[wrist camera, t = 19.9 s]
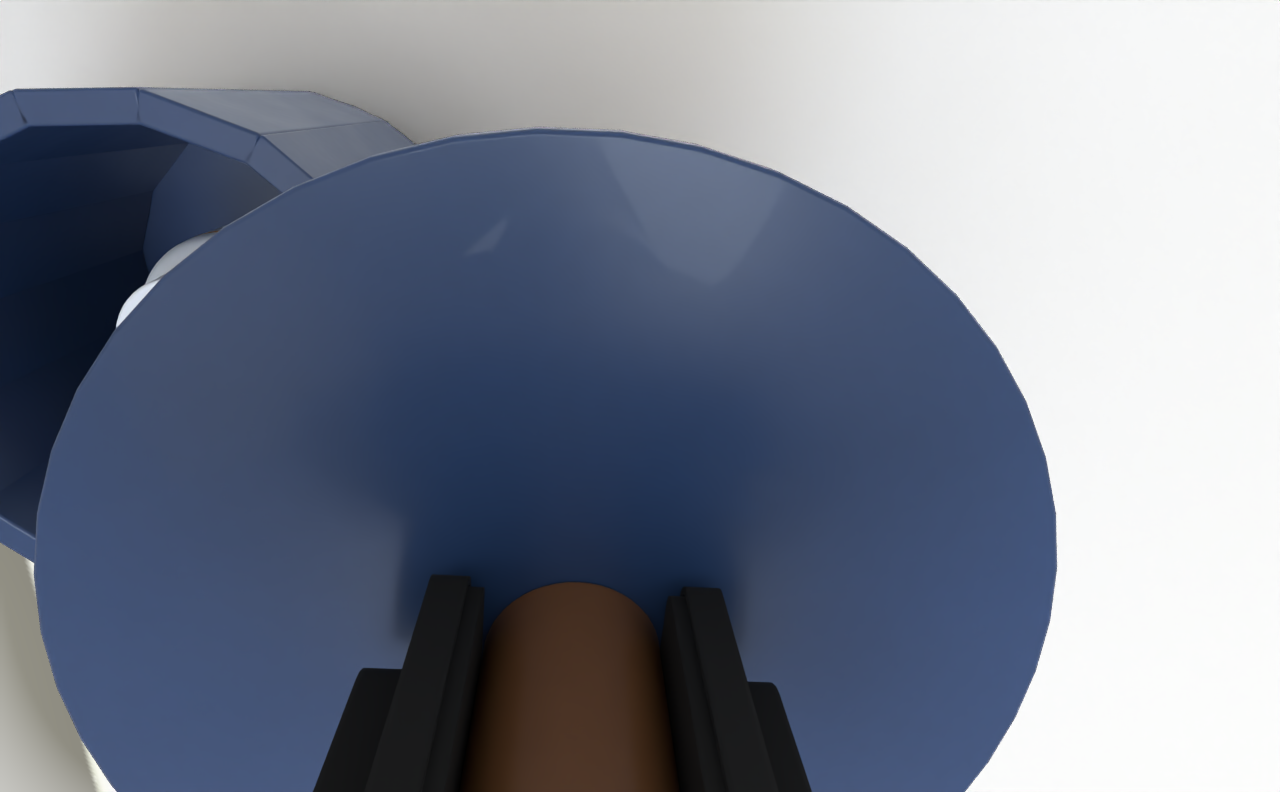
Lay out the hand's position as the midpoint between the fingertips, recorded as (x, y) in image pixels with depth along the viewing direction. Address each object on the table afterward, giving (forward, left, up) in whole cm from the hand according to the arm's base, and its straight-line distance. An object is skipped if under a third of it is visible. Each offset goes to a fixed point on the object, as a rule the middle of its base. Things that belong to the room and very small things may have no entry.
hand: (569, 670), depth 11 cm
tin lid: (0, 0, -1) cm, 1 cm away
